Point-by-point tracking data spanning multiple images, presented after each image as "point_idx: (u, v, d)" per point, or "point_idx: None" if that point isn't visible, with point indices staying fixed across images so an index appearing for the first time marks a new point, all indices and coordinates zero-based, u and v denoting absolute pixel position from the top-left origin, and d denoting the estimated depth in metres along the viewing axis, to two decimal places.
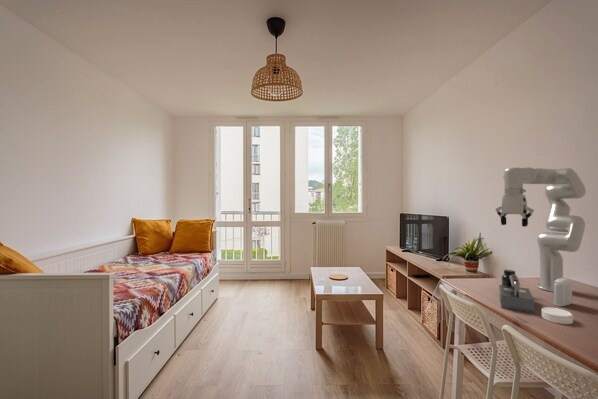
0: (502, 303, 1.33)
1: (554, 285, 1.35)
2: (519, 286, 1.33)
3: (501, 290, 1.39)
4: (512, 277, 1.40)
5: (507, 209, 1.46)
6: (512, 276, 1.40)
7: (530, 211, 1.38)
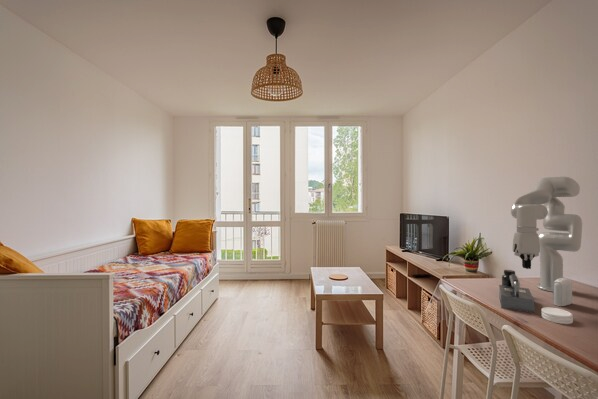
0: (502, 303, 1.33)
1: (554, 285, 1.35)
2: (519, 286, 1.33)
3: (501, 290, 1.39)
4: (512, 277, 1.40)
5: (526, 249, 1.35)
6: (512, 276, 1.40)
7: (536, 255, 1.37)
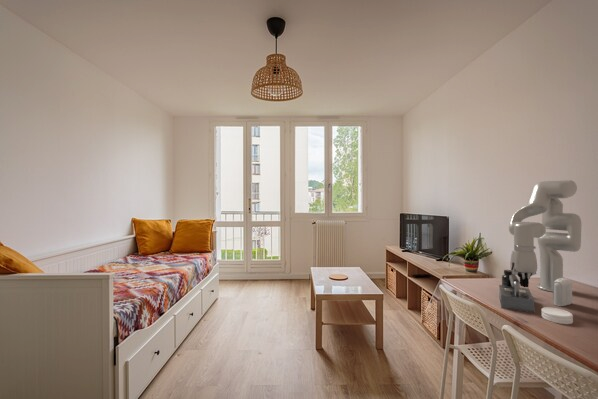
0: (502, 303, 1.33)
1: (554, 285, 1.35)
2: (519, 286, 1.33)
3: (501, 290, 1.39)
4: (512, 277, 1.40)
5: (523, 268, 1.36)
6: (512, 276, 1.40)
7: (533, 273, 1.38)
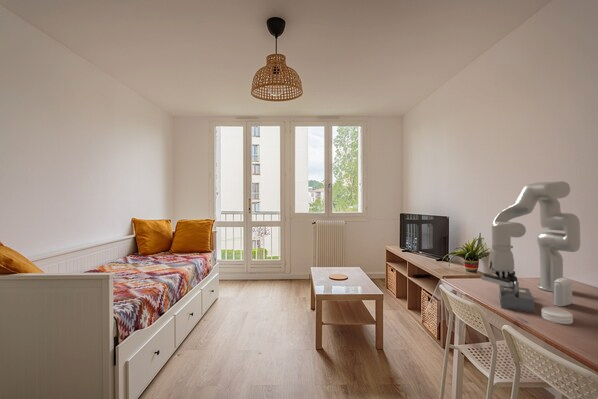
0: (502, 303, 1.33)
1: (554, 285, 1.35)
2: (512, 285, 1.34)
3: (501, 290, 1.39)
4: (494, 277, 1.40)
5: (501, 266, 1.40)
6: (494, 276, 1.41)
7: (511, 271, 1.41)
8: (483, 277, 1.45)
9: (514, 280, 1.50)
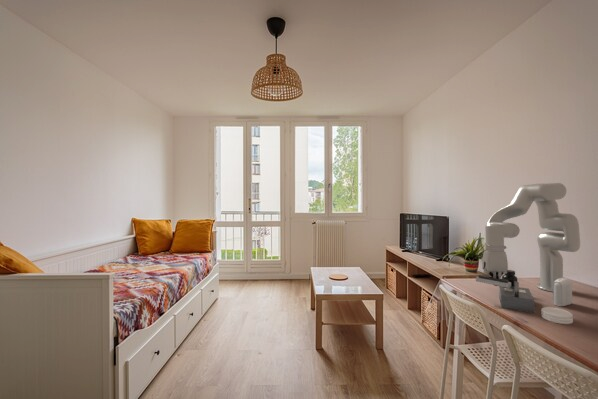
0: (502, 303, 1.33)
1: (554, 285, 1.35)
2: (510, 285, 1.34)
3: (501, 290, 1.39)
4: (491, 278, 1.39)
5: (494, 267, 1.39)
6: (490, 277, 1.39)
7: (504, 272, 1.40)
8: (478, 279, 1.42)
9: (514, 280, 1.50)
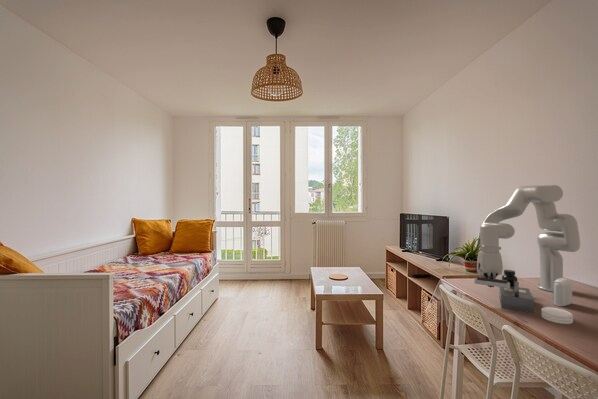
0: (502, 303, 1.33)
1: (554, 285, 1.35)
2: None
3: (501, 290, 1.39)
4: (491, 280, 1.36)
5: (489, 268, 1.38)
6: (490, 279, 1.37)
7: (499, 273, 1.39)
8: (477, 281, 1.39)
9: (514, 280, 1.50)
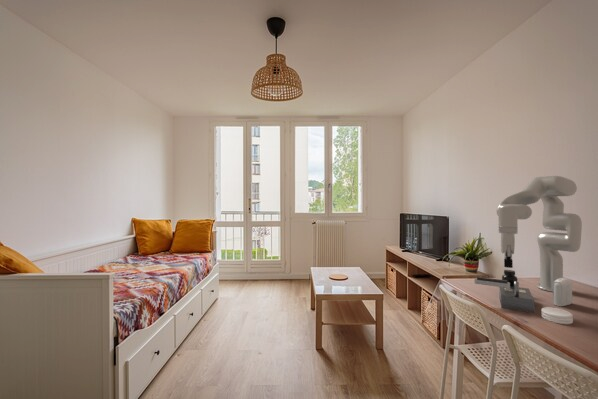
0: (502, 303, 1.33)
1: (554, 285, 1.35)
2: None
3: (501, 290, 1.39)
4: (491, 280, 1.36)
5: None
6: (490, 279, 1.37)
7: None
8: (477, 281, 1.39)
9: (514, 280, 1.50)
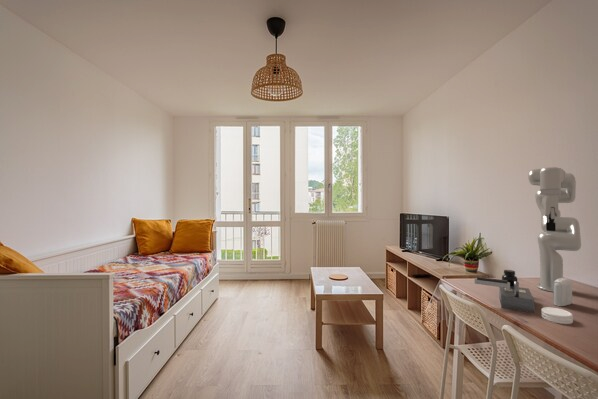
0: (502, 303, 1.33)
1: (554, 285, 1.35)
2: None
3: (501, 290, 1.39)
4: (491, 280, 1.36)
5: None
6: (490, 279, 1.37)
7: None
8: (477, 281, 1.39)
9: (514, 280, 1.50)
